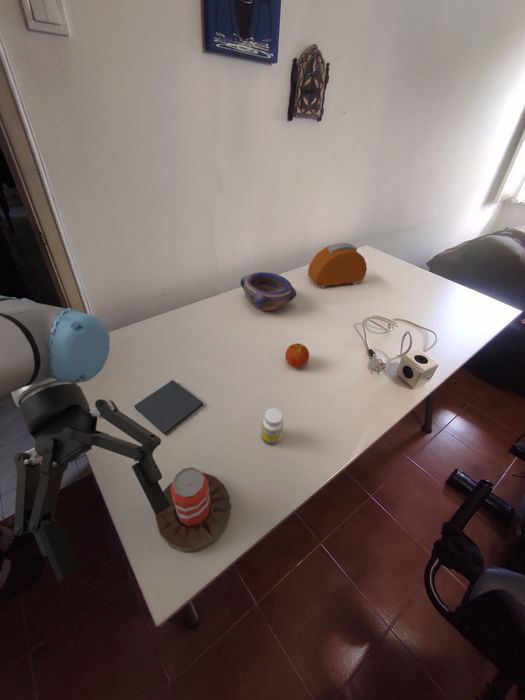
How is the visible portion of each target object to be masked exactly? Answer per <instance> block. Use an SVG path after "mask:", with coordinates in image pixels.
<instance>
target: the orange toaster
mask: <svg viewBox="0 0 525 700" xmlns="http://www.w3.org/2000/svg"><path fill="white" fill-rule="evenodd" d="M357 250H358V247H356V246H354V244H351V243H347V242H338V243H335V244H331V245H328V246H325V248H322V249H321V250H319V252H317V253H316V254H315V255H314V257H312V259H311V261H310V264H309V265H308V269H307V276H308V277H309V279H310V280H311V281H312V282H313V283H314V284H315V285H316V286H317V287H319V288H321V289H325V287H329V286H338V285H344V284H345V285H346V284H352V285H357V283H360V282H362V281H363V280H364V278H365V277H366V275H367V269H368V268H367V263H366V262H367V261H366V259H365V257H364V256H363V255H362V254H360V253H359V252H358V251H357Z"/></svg>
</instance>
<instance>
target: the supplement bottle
mask: <svg viewBox="0 0 525 700" xmlns="http://www.w3.org/2000/svg"><path fill="white" fill-rule="evenodd" d="M283 418H284V415H283V412H282V411H281V410H280V409H279V408H276V407H272V408H269V409H267V410H266V411H265V412H264V417H263V419H262V422H261V423H262V424H261V435H260V437H261V440H262V441H263V442H264V444H266V445H268V446H276V445H278V444H279V443H280V442H281V439H282V435H283V430H284V429H283V428H284V419H283Z"/></svg>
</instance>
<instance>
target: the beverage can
mask: <svg viewBox="0 0 525 700" xmlns="http://www.w3.org/2000/svg"><path fill="white" fill-rule="evenodd" d="M204 473H205V472H204V471H202V470H200V469H198V468H196V467H194V466H190V467H184V468H182V469H180V470H179V471H178V472H177V473H176V474H175V476H174V477H173V480H172V482H171V483H172V486H171V489H170V490H171V494H172V497H173V501H174V504H175V508H176V514H177V517H178V520H179V524H182V525H183V526H184V527H187V528H193V527H198V526H200V525H202V524H204V523H205V522H206V521H207V519H208V518H209V517H210V514H211V510H212V509H211V508H212V504H211V503H212V502H211V499H210V494H209V485H208V481H207V479H206V477H205V474H204Z"/></svg>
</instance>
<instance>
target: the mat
mask: <svg viewBox="0 0 525 700" xmlns="http://www.w3.org/2000/svg"><path fill="white" fill-rule="evenodd" d="M203 406H204V402H203V401H202V400H200V399H199V398H197V396H195V395H194V394H192V393H191V392H190V391H188V390H187V389H185V388H184V387H183V386H181V385H180V384H179V383H178V382H177V381H175V380H173V379H172V380H170V381H169V382H167V383H166V384H164V385H162V386H161V387H160V388H158V389H157V390H155V391H153V392H152V393H151V394H149V395H148V396H146V397H145V398H143V399H142V400H140V401H139V402H137V403H136V404H134V405H133V407H134V410H136V411H138V413H140V414H141V416H143V417H144V418H145V419H146V420H147V421H149V422H150V424H152V425H153V426H154V427H155V428H156V429H157V430H159V431H160V432H161V433H162V434H163V435H165V436H166V435H167V434H169V433H170V432H171V431H173V429H175V428H176V427H177V426H179V425H180V424H181V423H182V422H184V421H185V420H187V419H188V418H189V417H190V416H191V415H193V414H195V413H196V411H198V410H199V409H200V408H202V407H203Z"/></svg>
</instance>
